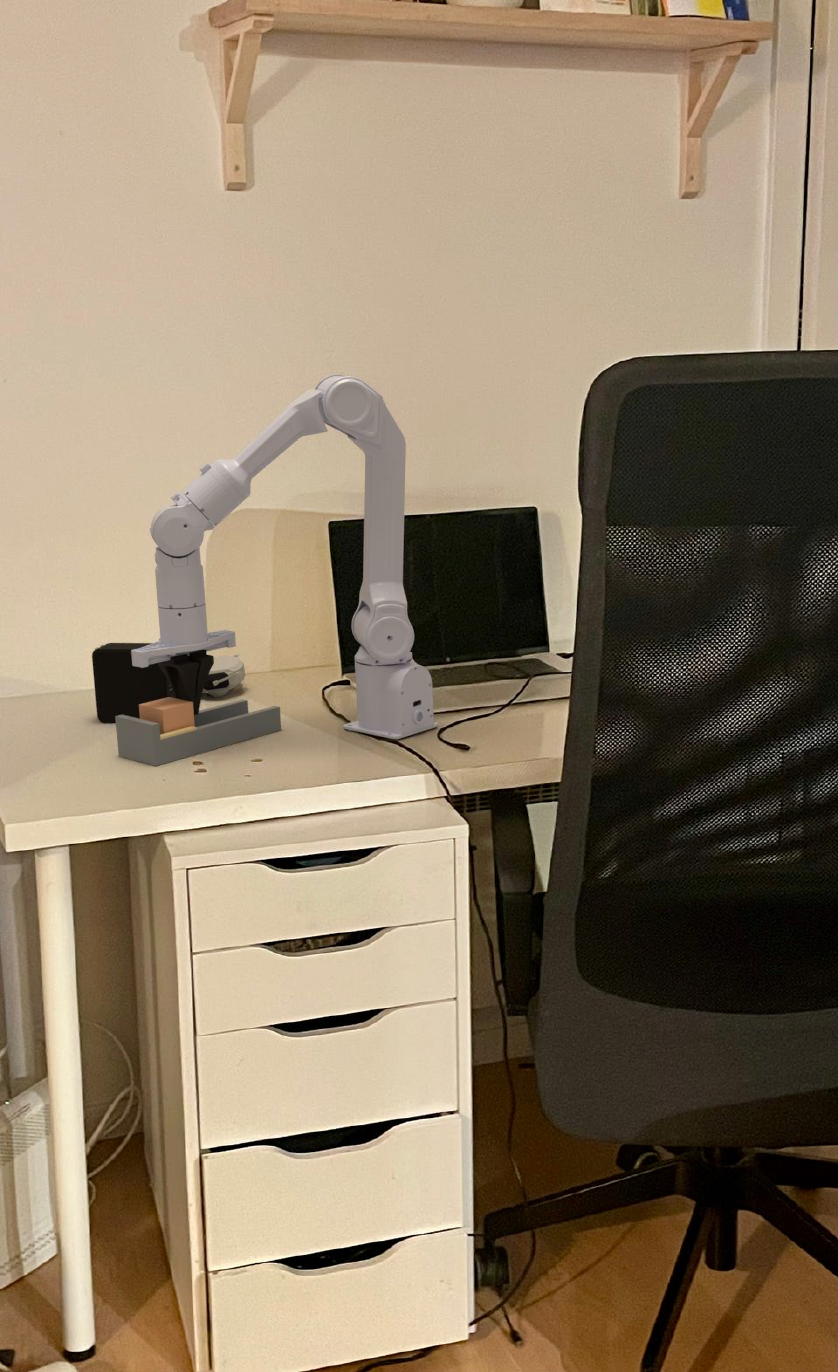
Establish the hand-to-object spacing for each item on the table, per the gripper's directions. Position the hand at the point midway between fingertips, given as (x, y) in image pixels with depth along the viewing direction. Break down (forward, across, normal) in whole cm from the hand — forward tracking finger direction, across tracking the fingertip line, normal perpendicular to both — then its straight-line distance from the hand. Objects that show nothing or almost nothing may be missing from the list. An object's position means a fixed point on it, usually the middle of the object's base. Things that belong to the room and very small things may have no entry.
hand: (189, 713), depth 186 cm
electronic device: (+4, -4, -16) cm, 17 cm away
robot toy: (+4, -18, -22) cm, 29 cm away
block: (+3, +4, 0) cm, 5 cm away
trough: (+4, -2, 0) cm, 5 cm away
